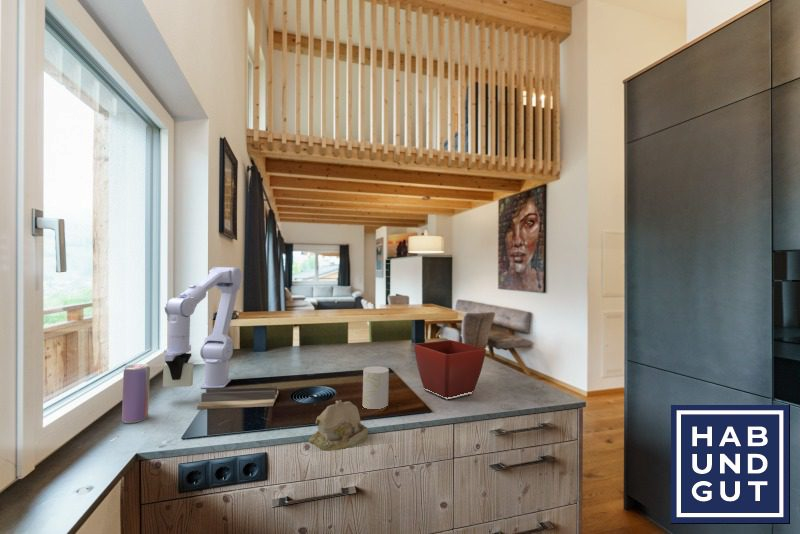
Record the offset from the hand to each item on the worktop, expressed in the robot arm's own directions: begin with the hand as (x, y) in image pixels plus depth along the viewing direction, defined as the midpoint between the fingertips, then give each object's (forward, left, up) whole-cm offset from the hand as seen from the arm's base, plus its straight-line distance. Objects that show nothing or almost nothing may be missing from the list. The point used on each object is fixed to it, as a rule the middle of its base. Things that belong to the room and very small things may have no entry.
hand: (177, 378), depth 114 cm
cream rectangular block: (0, 0, -2) cm, 2 cm away
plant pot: (0, +90, -8) cm, 90 cm away
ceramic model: (+31, +50, -8) cm, 60 cm away
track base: (0, +19, -8) cm, 21 cm away
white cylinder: (+11, +62, -8) cm, 64 cm away
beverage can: (+12, -6, -8) cm, 16 cm away
